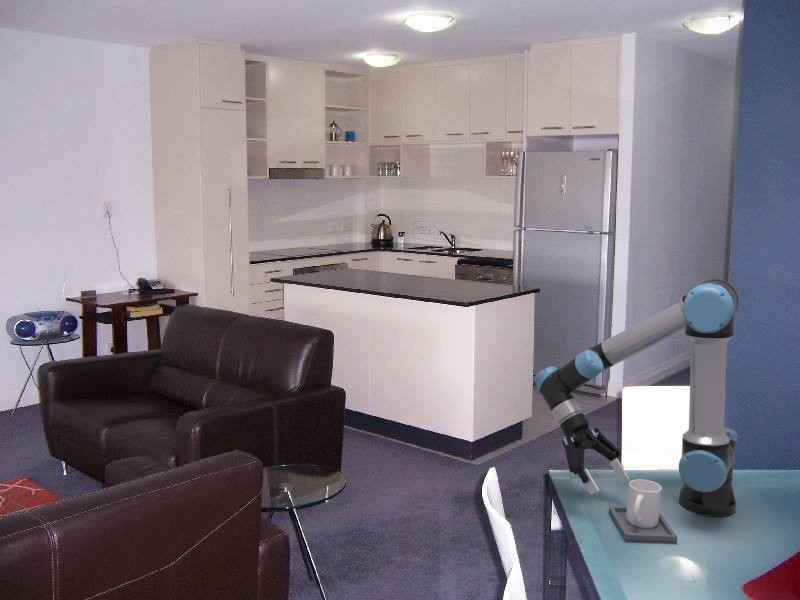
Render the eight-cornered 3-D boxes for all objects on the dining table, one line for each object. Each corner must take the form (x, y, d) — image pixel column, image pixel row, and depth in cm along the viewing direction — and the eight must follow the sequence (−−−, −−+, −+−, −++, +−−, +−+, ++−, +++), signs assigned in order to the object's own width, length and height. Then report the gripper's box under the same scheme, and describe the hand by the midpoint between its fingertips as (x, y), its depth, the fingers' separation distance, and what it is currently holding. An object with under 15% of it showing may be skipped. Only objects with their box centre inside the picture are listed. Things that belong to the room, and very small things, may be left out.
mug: (649, 537, 206) (653, 499, 204) (617, 528, 211) (620, 491, 209) (661, 520, 216) (665, 484, 215) (630, 512, 221) (634, 476, 219)
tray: (656, 514, 222) (656, 507, 221) (676, 544, 205) (677, 536, 205) (608, 513, 222) (609, 506, 221) (625, 542, 205) (625, 534, 205)
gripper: (589, 417, 239) (628, 482, 230) (533, 433, 223) (572, 504, 214) (606, 404, 234) (646, 470, 225) (549, 420, 218) (591, 491, 209)
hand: (610, 487), depth 220 cm, fingers open, 13 cm apart
